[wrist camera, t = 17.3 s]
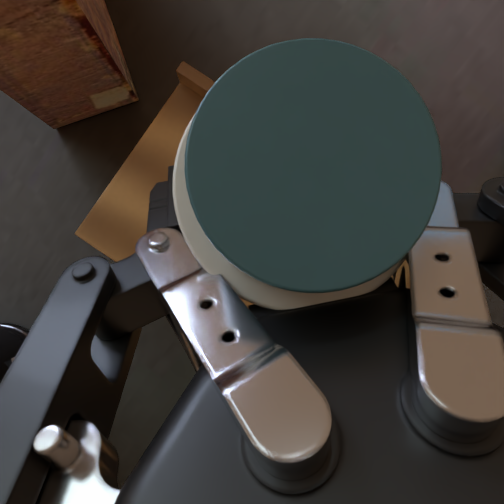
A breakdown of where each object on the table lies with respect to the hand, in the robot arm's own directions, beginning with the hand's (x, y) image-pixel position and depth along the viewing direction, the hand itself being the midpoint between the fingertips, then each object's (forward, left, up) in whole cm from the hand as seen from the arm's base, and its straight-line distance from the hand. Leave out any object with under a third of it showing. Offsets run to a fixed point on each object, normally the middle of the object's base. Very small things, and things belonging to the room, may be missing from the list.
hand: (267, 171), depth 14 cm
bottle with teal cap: (-1, -1, -5) cm, 5 cm away
